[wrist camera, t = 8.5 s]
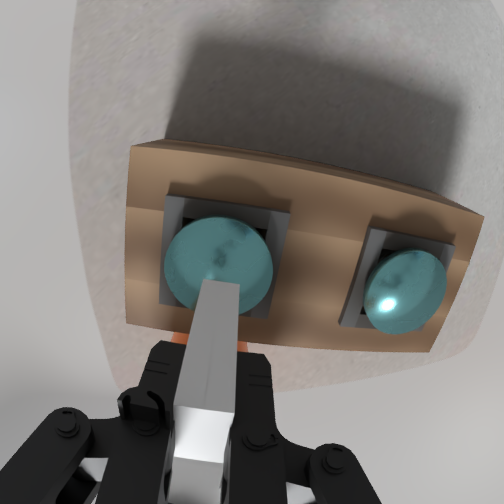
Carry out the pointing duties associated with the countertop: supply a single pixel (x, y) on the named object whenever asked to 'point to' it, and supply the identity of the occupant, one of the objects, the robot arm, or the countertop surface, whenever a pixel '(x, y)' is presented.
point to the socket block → (289, 240)
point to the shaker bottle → (196, 466)
